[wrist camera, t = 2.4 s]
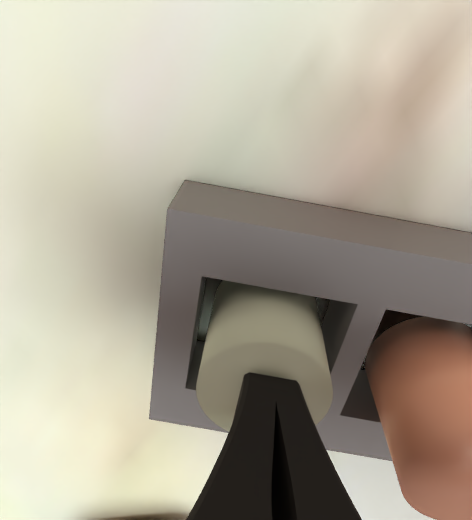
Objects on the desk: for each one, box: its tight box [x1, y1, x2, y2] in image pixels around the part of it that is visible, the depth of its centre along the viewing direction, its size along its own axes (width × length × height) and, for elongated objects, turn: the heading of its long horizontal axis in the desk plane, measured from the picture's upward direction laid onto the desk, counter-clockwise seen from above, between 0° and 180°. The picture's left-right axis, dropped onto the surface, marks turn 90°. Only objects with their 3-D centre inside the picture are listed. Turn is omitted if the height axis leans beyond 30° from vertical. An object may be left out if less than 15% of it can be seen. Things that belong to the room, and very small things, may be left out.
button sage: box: [196, 280, 333, 432], centre depth 12 cm, size 4×4×4 cm
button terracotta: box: [365, 316, 472, 520], centre depth 11 cm, size 4×4×4 cm
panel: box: [149, 180, 472, 461], centre depth 13 cm, size 17×8×2 cm, turn 81°
